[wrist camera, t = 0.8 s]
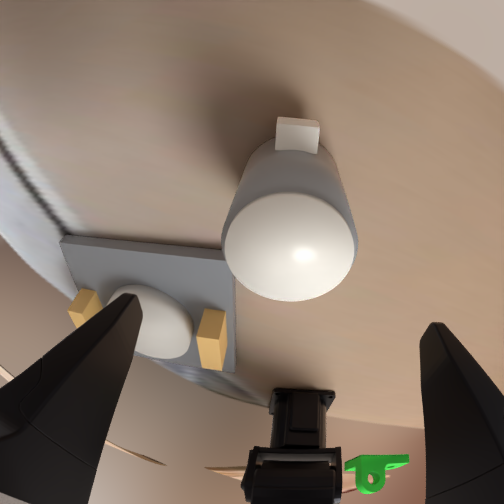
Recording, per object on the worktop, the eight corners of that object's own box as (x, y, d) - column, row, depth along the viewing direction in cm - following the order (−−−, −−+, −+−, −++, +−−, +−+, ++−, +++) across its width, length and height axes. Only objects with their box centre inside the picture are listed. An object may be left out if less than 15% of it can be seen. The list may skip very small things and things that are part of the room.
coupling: (327, 240, 18) (336, 326, 13) (243, 232, 18) (222, 315, 13) (348, 120, 14) (382, 169, 8) (245, 110, 14) (215, 152, 9)
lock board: (236, 364, 27) (230, 397, 24) (110, 340, 28) (97, 368, 25) (234, 251, 19) (224, 291, 16) (65, 234, 20) (40, 264, 17)
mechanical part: (344, 462, 48) (343, 497, 42) (361, 454, 45) (361, 492, 38) (390, 462, 49) (392, 494, 43) (408, 454, 46) (410, 488, 39)
